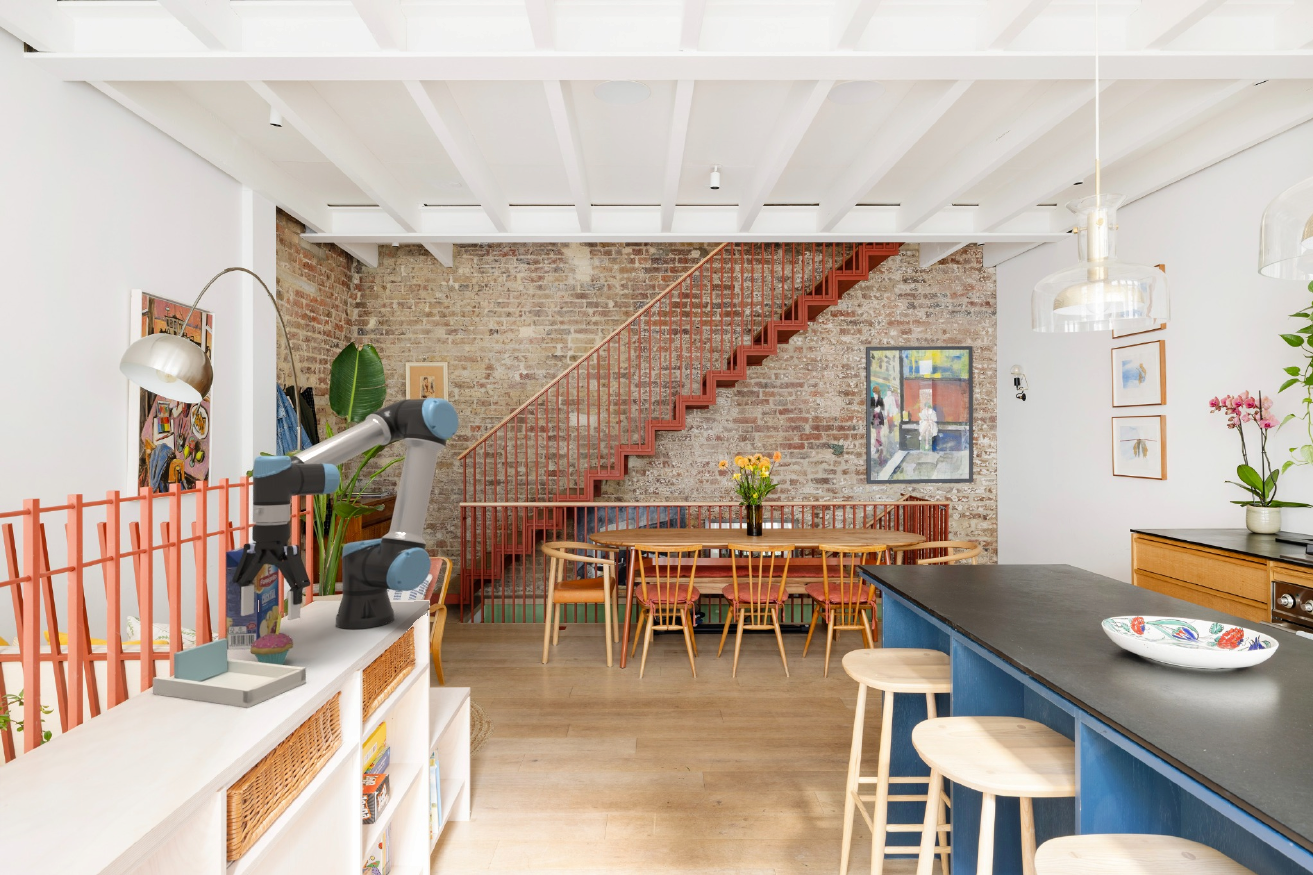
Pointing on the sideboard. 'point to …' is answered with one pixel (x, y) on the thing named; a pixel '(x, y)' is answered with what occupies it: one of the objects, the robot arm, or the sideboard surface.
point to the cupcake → (272, 646)
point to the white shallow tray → (235, 684)
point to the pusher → (201, 661)
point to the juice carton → (266, 591)
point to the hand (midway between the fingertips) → (270, 616)
